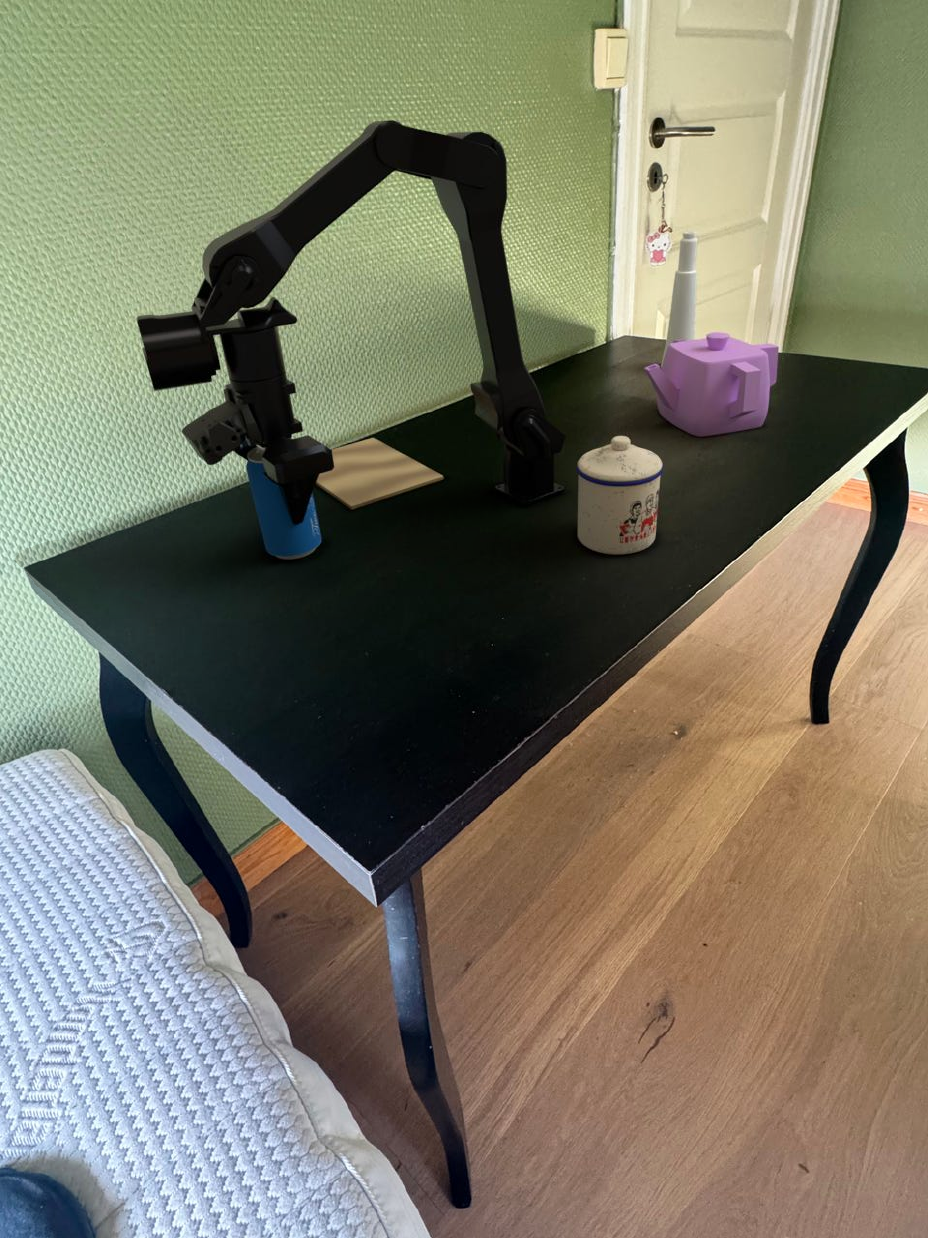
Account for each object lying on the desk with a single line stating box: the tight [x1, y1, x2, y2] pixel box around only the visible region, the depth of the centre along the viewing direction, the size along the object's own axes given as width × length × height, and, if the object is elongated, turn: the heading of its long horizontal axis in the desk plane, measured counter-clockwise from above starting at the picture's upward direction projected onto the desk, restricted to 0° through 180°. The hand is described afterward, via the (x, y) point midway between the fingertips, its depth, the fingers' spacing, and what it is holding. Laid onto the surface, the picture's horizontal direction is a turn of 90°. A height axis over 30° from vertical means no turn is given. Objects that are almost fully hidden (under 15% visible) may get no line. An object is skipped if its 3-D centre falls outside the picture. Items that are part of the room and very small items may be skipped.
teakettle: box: [643, 331, 780, 438], centre depth 112 cm, size 17×17×12 cm
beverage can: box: [245, 447, 322, 560], centre depth 86 cm, size 6×6×12 cm
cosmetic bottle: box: [660, 231, 699, 369], centre depth 132 cm, size 6×6×22 cm
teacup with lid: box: [576, 435, 664, 556], centre depth 84 cm, size 12×9×12 cm
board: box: [315, 437, 445, 510], centre depth 107 cm, size 20×14×1 cm
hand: (285, 513), depth 86 cm, fingers closed on beverage can, 6 cm apart
